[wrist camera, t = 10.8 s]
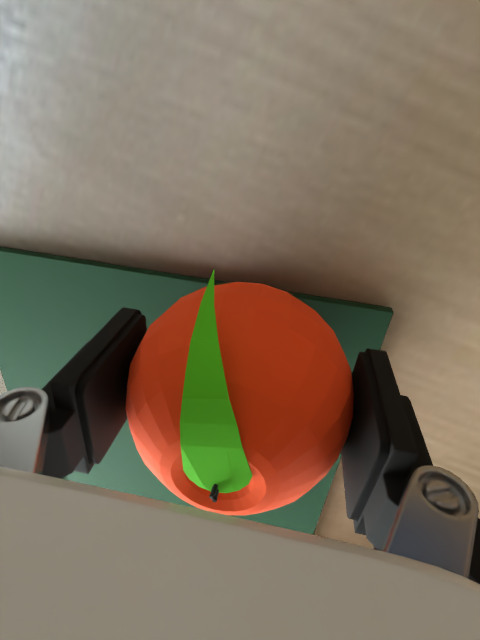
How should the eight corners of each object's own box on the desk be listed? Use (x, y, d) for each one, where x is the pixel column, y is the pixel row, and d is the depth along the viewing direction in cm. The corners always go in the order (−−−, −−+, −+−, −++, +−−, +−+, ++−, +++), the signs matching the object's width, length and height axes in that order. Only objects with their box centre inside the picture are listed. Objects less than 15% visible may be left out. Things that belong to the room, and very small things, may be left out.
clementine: (147, 225, 13) (-2, 330, 7) (349, 211, 11) (396, 328, 5) (187, 395, 17) (117, 559, 10) (340, 400, 15) (362, 592, 9)
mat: (45, 492, 24) (42, 497, 24) (-34, 241, 15) (-42, 243, 15) (304, 551, 23) (304, 557, 22) (391, 307, 13) (393, 312, 13)
